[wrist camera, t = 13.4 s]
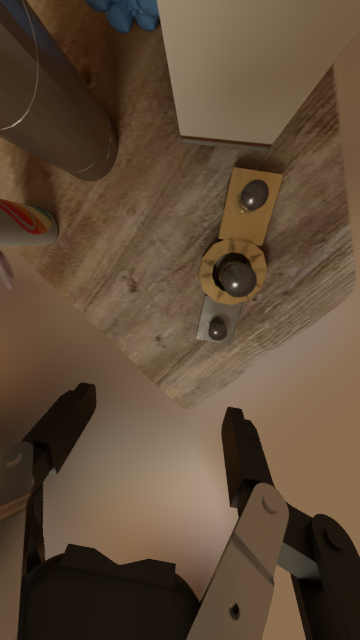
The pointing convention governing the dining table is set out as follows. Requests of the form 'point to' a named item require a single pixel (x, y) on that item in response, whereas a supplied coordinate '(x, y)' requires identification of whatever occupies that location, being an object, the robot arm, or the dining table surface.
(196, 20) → the beige rectangular tower
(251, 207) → the tan piece
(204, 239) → the dining table surface
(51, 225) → the lotion bottle
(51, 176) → the dining table surface
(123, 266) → the dining table surface
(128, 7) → the grapes
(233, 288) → the pin
